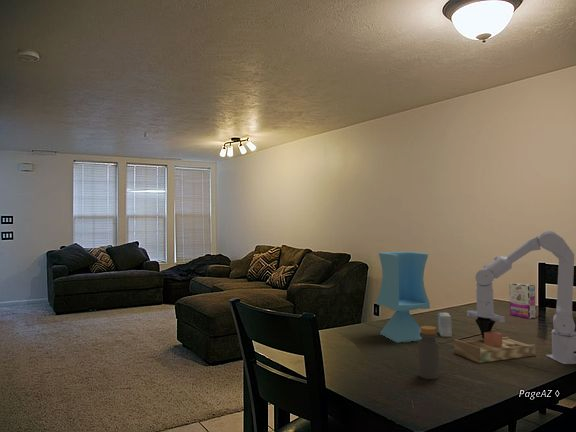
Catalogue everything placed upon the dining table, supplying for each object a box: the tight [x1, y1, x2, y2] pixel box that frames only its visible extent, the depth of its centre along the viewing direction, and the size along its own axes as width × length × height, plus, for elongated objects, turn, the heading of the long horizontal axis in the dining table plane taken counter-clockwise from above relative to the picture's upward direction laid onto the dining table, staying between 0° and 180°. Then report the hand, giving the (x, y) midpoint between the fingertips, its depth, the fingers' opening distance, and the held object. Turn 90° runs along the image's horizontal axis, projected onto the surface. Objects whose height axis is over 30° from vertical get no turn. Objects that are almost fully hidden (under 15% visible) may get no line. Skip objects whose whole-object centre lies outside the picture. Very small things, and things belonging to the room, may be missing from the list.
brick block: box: [484, 330, 503, 347], centre depth 162 cm, size 4×4×4 cm
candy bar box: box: [508, 282, 537, 320], centre depth 223 cm, size 11×5×16 cm, turn 25°
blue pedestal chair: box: [376, 251, 431, 344], centre depth 185 cm, size 16×16×35 cm
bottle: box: [418, 325, 440, 380], centre depth 138 cm, size 6×6×15 cm
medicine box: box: [437, 312, 453, 338], centre depth 189 cm, size 8×4×9 cm, turn 168°
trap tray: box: [453, 336, 536, 364], centre depth 160 cm, size 24×12×5 cm, turn 108°
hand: (485, 338), depth 165 cm, fingers closed
